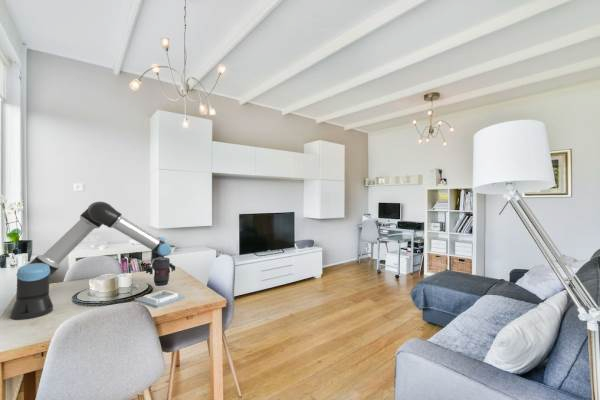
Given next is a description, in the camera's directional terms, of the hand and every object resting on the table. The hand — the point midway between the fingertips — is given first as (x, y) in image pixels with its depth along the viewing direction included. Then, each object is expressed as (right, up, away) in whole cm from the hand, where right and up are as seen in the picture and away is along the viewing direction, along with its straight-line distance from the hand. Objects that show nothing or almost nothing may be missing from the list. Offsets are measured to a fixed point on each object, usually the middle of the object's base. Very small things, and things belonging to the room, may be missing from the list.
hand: (162, 272), depth 158 cm
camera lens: (-2, -8, +4) cm, 9 cm away
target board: (-3, -17, +4) cm, 17 cm away
